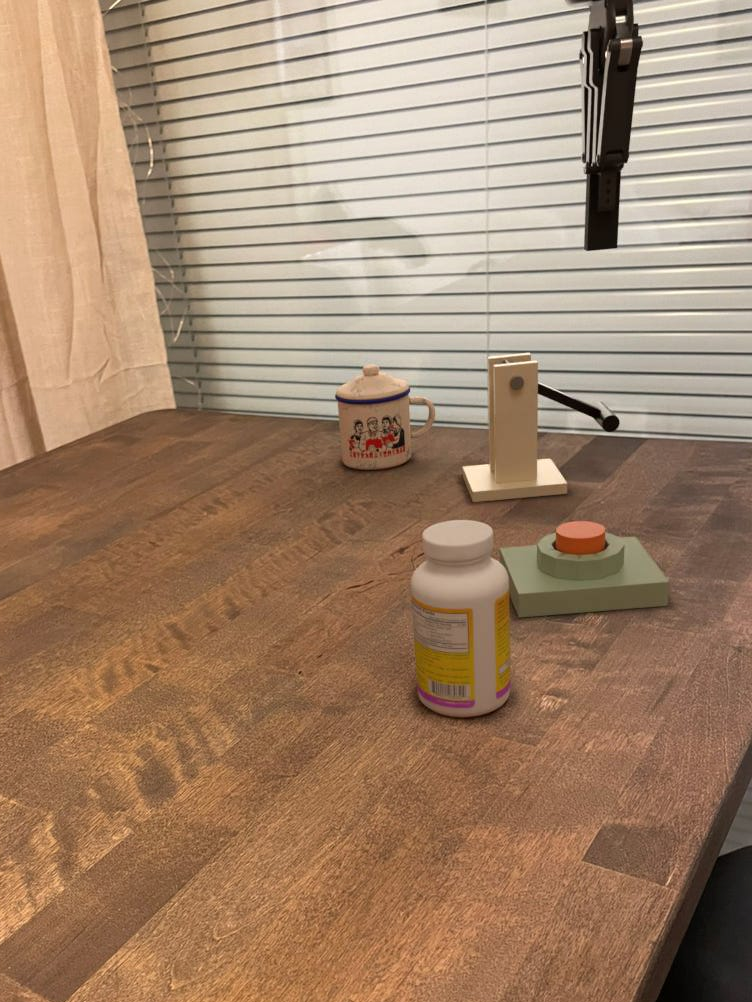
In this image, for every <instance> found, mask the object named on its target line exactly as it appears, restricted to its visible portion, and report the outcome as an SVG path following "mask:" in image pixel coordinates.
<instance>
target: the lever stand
mask: <svg viewBox="0 0 752 1002" xmlns="http://www.w3.org/2000/svg"><path fill="white" fill-rule="evenodd" d="M504 359H506V360H508V361H510V362H513V363H507V364H502V363H503V361H504ZM538 382H539V362H538V361H537V360H532V354H531V353H530V352H523V353H514V354H513V353H511V354H502V355H493V356H487V388H488V389H487V391H488V392H487V393H488V395H487V396H488V399H487V400H488V402H487V403H488V455H489V456H488V460H489V463H485V464H477V465H476V464H475V465H465V466H464V465H463V466H462V478H463V481H464V483H465V486H466V488H467V492H468V494H469V496H470V498H471V501H472V503H480V502H490V501H502V500H503V501H504V500H513V499H524V498H536V497H546V496H557V495H568V482H567V480H566V479H565V478H564V476H563V474H562V473H561V472H560V470H559V468H558V467H557V466H556V464H555V462H554V461H553V460H552V458H540V459H538V436H539V435H538V431H539V429H538V428H539V427H538V426H539V425H538V421H539V420H538V418H539V415H538V412H539V409H538V408H539V404H538V403H539V394H538Z"/></svg>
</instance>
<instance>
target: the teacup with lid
mask: <svg viewBox="0 0 752 1002" xmlns="http://www.w3.org/2000/svg"><path fill="white" fill-rule="evenodd" d="M410 393H411V387H410V384H409V383H408V382H407V381H406V380H404V379H401V378H397V377H393V376H391V375H390V374H388V373H386V372H381V371H380V367H379V365H378V364H367V365H364V366H363V368H362V373H361V374H359V375H357V376H355V377H354V378H353V379H352V380H350V381H349V382H346V383H343V384H342V385H340V386H339V387H338V388H337V389H336V391H335V395H334V398H335V400H336V401H337V412H338V422H339V423H338V425H339V436H340V448H341V449H340V450H341V459H342V460H341V461H342V463H343V464H344V466H346V467H348V468H350V469H355V470H361V471H376V470H377V471H378V470H385V469H390V468H391V469H392V468H395V467H398V466H401V465H403V464H405V463H407V462H408V461H409V460H410V459H411V458H412V439H416V438H420V437H422V436H424V435H426V434H427V433H428V432H429V431H430V429H431V428H432V427H433V424H434V423H435V422H434V421H435V419H436V408H435V405H434V403H433V402H432V401H431V400H430V399H428V397H425V396H423V395H422V396H420V395H416V396H415V395H414V396H410V395H409V394H410ZM412 404H423V405H425V406H427V407H428V417H427V420H426V421H425V424H423V426H422V427H421V428H419V429H416V430H412V431H411V417H410V416H411V415H410V405H412Z"/></svg>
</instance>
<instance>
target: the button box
mask: <svg viewBox="0 0 752 1002" xmlns="http://www.w3.org/2000/svg"><path fill="white" fill-rule="evenodd" d="M499 562H500V563H501V564H502V565H503V566H504V568H505V569H506V571H507V573H508V577H509V598H510V599H511V602H512V604H513V607H514V610H515V612H516V614H517V617H518V618H519V619H520V618H532V617H544V616H557V615H559V616H560V615H570V614H583V613H595V612H607V611H608V612H609V611H620V610H621V611H622V610H632V609H633V610H634V609H646V608H658V607H667V606H669V596H670V595H669V593H670V580H669V579H668V578H667V576H666V574H664V572H663V571H662V569H660V567H659V565H658V564H657V563H656V561H655V560H654V559H653V558H652V557H651V555H650V554H649V552H648V551H647V550H646V548H644V546H643V544H642V543H641V541H639V539H638V538H637V537H636V536H626V537H625V536H624V537H620V536H617V535H615V534H612V533H609V532H607V531H606V533H605V550H604V551H601V552H599V553H596V554H587V555H573V554H564V553H562V552H559V551H557V550H556V532H553V533H550V534H547V535H544V536H543V537H542V538H541V539H540V540H539V541H538V542H537V543H536V544H532V545H522V546H521V545H520V546H510V547H500V548H499Z"/></svg>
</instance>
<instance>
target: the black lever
mask: <svg viewBox="0 0 752 1002" xmlns="http://www.w3.org/2000/svg"><path fill="white" fill-rule="evenodd" d="M507 363H513V362H510V361H508V360H506V359H504V361H503V363H502V364H507ZM538 395H540V396H542V397H544V398H546V399H549V400H552V401H553V402H556V403H558V404H561V405H563V406H565V407H567V408H569V409H571V410H574V411H577V412H578V413H581V414H584V415H586V416H588V417H591V418H592V419H593V420H594V421H595V422H596V423H597V424H598V425H599V426H600V428H602V429H603V431H605V432H607V433H613V432H615V431H616V430H617V429H619V427H620V423H621V421H620V418H619V417H618V416H617V414H615V413H614V412H613V411H612V410H611V409H610V408H609V407H608V406H607V405H606V404H605V403H604V402H603V401H600V400H598V401H594V402H592V403H591V404H590V403H588V402H586V401H583V400H581V399H579V398H577V397H574V396H571V395H570V394H567V393H565V392H562V391H560V390H557V389H555V388H553V387H551V386H549V385H547V384H545V383H542V382H540V381H538Z"/></svg>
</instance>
